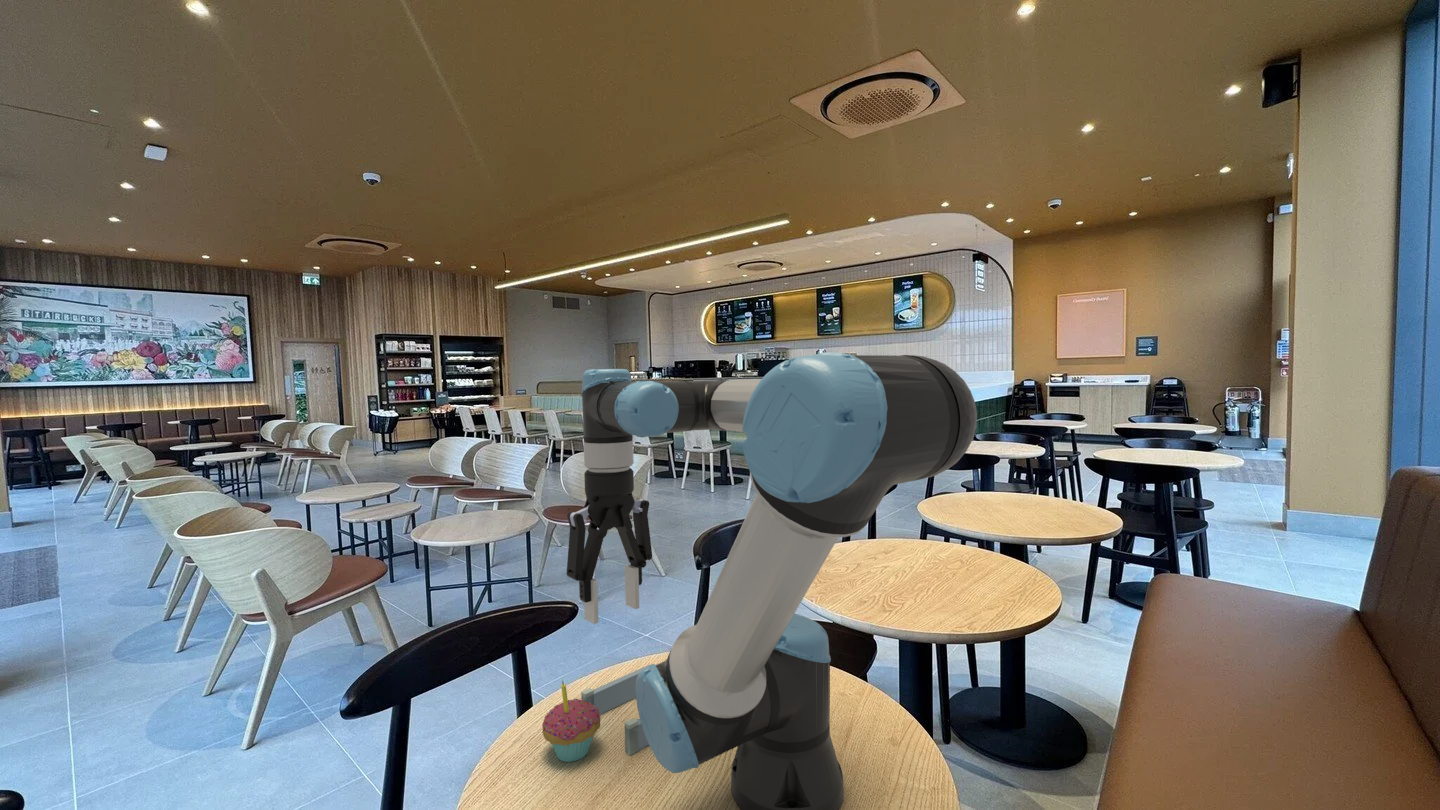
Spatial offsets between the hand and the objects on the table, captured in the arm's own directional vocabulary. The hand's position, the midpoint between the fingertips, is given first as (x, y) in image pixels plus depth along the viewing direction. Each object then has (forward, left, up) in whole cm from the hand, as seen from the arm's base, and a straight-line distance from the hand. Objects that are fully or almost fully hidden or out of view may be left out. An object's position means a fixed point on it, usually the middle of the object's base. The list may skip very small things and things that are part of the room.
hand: (612, 613), depth 91 cm
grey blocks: (0, -5, -19) cm, 20 cm away
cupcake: (0, +8, -19) cm, 21 cm away
